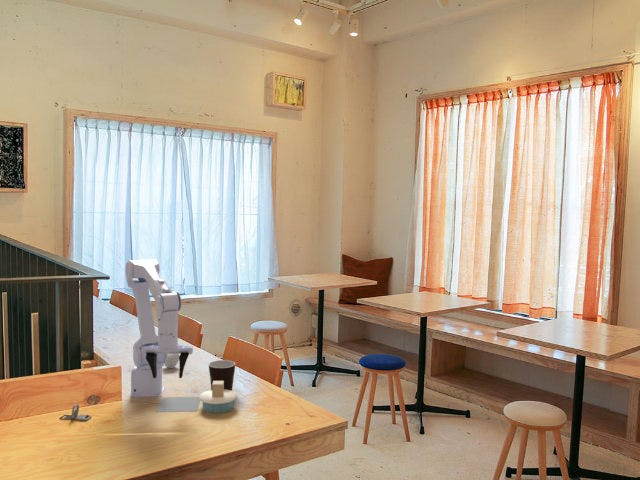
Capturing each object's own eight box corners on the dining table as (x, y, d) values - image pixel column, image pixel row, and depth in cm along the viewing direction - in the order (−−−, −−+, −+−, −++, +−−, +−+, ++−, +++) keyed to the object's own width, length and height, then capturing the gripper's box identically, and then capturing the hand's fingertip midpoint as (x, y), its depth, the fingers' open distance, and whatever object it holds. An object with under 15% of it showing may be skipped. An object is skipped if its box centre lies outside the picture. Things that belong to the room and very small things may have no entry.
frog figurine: (182, 365, 211) (182, 347, 211) (175, 370, 205) (175, 352, 204) (166, 364, 212) (166, 346, 212) (159, 370, 205) (159, 351, 205)
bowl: (201, 414, 165) (201, 402, 164) (204, 403, 174) (204, 392, 173) (231, 413, 166) (232, 402, 165) (233, 402, 174) (233, 391, 174)
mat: (155, 413, 165) (155, 411, 165) (163, 398, 177) (163, 397, 177) (196, 412, 166) (196, 411, 166) (201, 397, 178) (201, 396, 178)
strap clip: (92, 418, 161) (92, 404, 161) (86, 422, 158) (86, 407, 158) (64, 416, 162) (64, 402, 161) (58, 420, 159) (58, 406, 158)
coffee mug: (229, 399, 177) (229, 369, 176) (204, 397, 179) (204, 366, 178) (241, 387, 188) (242, 358, 188) (217, 385, 190) (218, 356, 189)
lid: (197, 404, 163) (197, 388, 163) (201, 391, 174) (201, 376, 174) (235, 403, 164) (235, 388, 164) (237, 390, 175) (237, 376, 175)
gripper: (140, 336, 162) (140, 381, 163) (190, 336, 163) (190, 381, 164) (145, 330, 169) (145, 373, 170) (193, 330, 170) (193, 373, 171)
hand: (167, 377), depth 167 cm, fingers open, 7 cm apart
